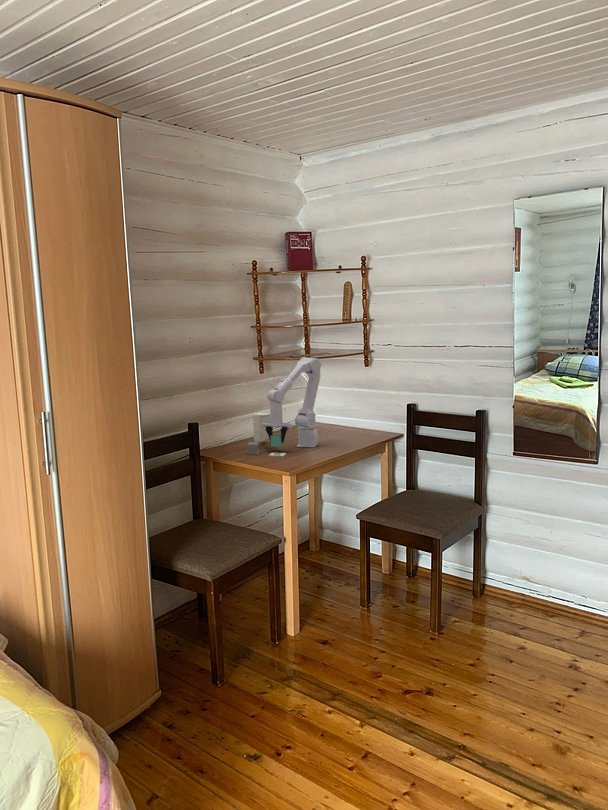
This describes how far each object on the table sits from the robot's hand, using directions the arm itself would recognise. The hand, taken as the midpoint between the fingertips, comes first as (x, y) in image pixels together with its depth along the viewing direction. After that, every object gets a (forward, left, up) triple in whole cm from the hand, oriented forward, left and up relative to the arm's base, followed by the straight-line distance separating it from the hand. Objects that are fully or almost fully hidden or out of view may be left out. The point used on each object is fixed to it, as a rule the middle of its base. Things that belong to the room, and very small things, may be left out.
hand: (277, 442), depth 318 cm
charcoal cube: (+10, +6, -5) cm, 13 cm away
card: (-2, +7, -5) cm, 9 cm away
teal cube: (0, 0, -2) cm, 2 cm away
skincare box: (+13, -20, -5) cm, 24 cm away
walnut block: (+7, -8, -5) cm, 12 cm away
